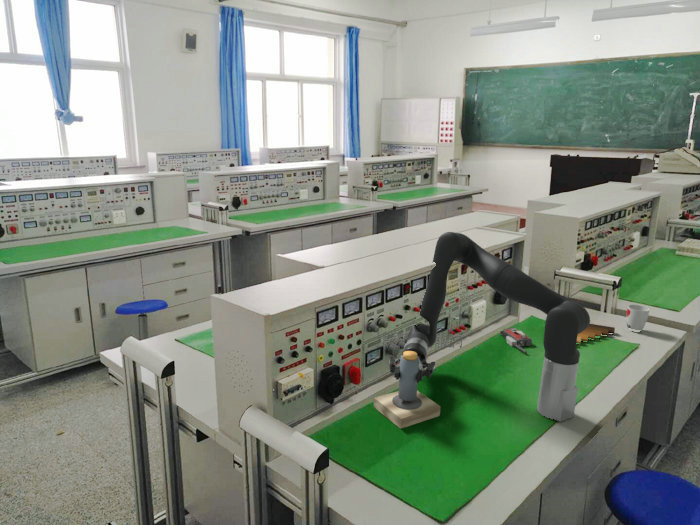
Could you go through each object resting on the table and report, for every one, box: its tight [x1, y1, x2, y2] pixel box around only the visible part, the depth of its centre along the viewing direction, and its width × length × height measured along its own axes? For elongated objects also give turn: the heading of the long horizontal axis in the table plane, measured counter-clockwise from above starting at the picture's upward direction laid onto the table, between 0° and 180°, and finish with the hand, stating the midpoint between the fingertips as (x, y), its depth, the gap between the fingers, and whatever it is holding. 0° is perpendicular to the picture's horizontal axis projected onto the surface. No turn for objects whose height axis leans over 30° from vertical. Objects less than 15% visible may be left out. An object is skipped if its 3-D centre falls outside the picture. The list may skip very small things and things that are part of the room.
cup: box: [626, 304, 650, 331], centre depth 225 cm, size 8×8×10 cm
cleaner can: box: [398, 351, 419, 401], centre depth 153 cm, size 5×5×13 cm
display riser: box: [373, 390, 442, 430], centre depth 156 cm, size 13×14×3 cm
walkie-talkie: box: [499, 327, 533, 354], centre depth 208 cm, size 9×4×20 cm
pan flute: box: [577, 323, 615, 345], centre depth 216 cm, size 25×3×25 cm
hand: (407, 378), depth 151 cm, fingers closed on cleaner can, 5 cm apart
